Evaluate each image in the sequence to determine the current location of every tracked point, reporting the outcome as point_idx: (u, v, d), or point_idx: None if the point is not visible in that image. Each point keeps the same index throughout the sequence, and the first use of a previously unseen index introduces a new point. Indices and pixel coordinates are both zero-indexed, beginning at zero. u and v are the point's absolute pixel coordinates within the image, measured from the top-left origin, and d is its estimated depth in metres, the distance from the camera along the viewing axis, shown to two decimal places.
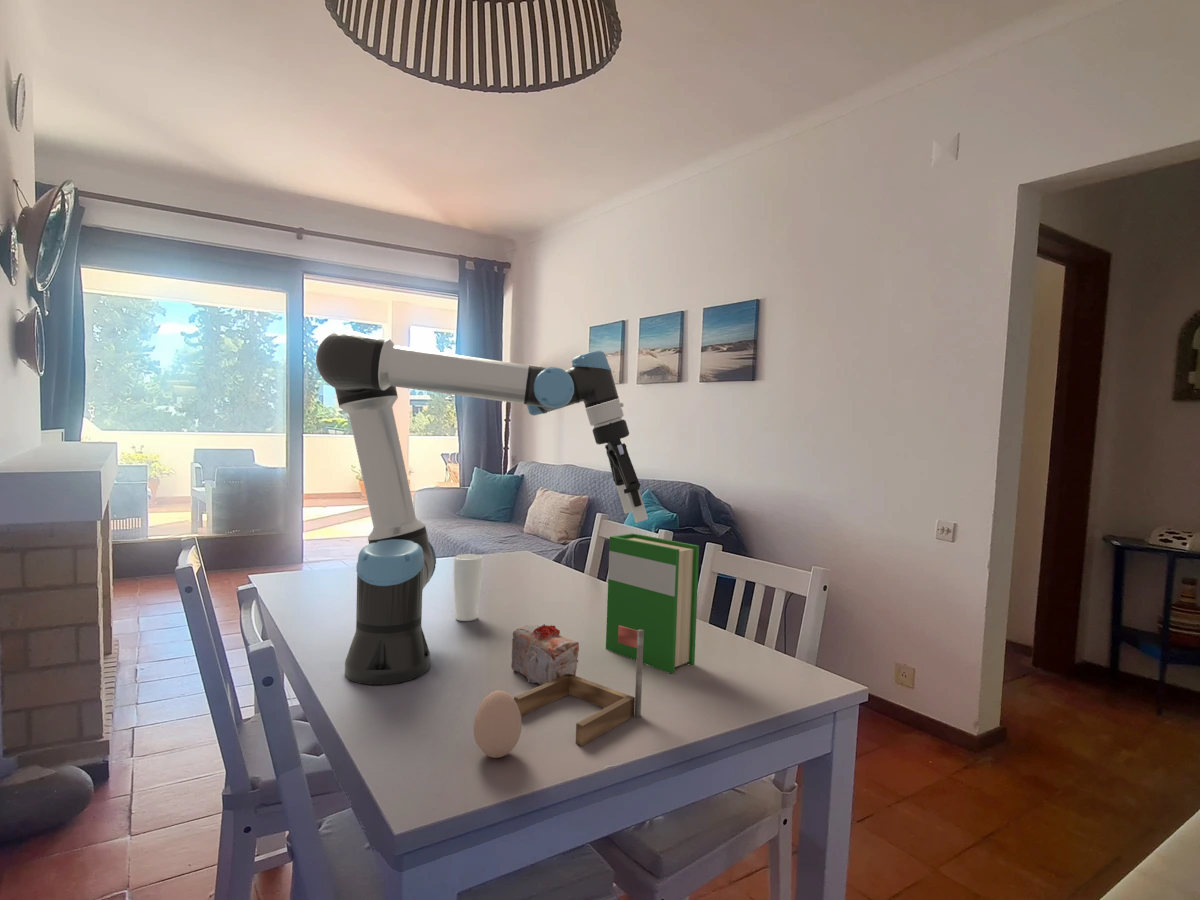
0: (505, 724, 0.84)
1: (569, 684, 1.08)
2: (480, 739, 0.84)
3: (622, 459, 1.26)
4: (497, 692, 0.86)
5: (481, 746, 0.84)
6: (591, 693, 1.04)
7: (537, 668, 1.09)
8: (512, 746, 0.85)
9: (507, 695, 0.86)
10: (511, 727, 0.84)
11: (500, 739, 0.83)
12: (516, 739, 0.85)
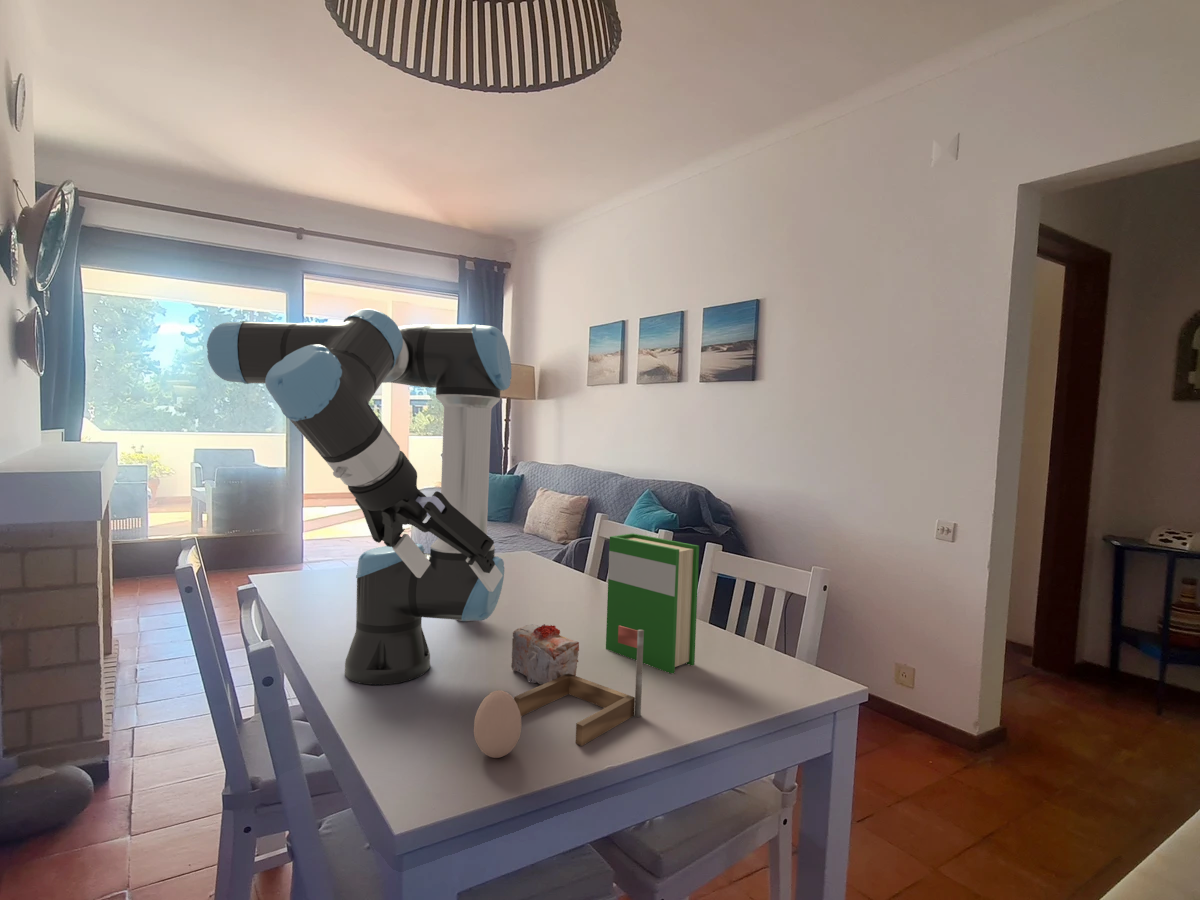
0: (505, 725, 0.84)
1: (569, 684, 1.08)
2: (480, 739, 0.84)
3: None
4: (497, 692, 0.86)
5: (481, 746, 0.84)
6: (591, 693, 1.04)
7: (537, 668, 1.09)
8: (512, 746, 0.85)
9: (507, 695, 0.86)
10: (511, 727, 0.84)
11: (500, 739, 0.83)
12: (516, 739, 0.85)
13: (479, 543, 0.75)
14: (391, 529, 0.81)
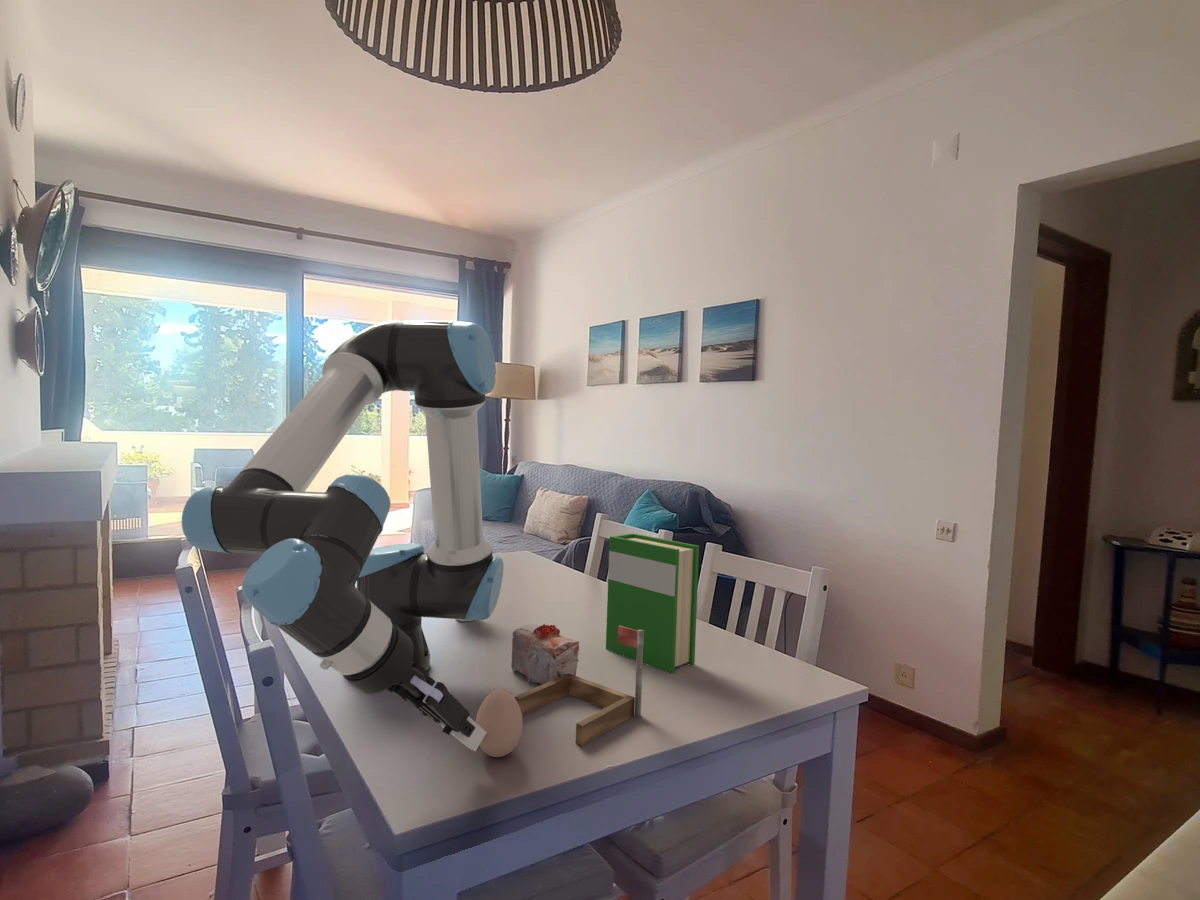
0: (506, 724, 0.84)
1: (569, 684, 1.08)
2: None
3: None
4: (498, 691, 0.86)
5: (482, 745, 0.84)
6: (591, 693, 1.04)
7: (538, 667, 1.10)
8: (513, 745, 0.85)
9: (508, 694, 0.87)
10: (512, 727, 0.84)
11: (502, 738, 0.84)
12: (517, 738, 0.85)
13: (459, 721, 0.75)
14: None
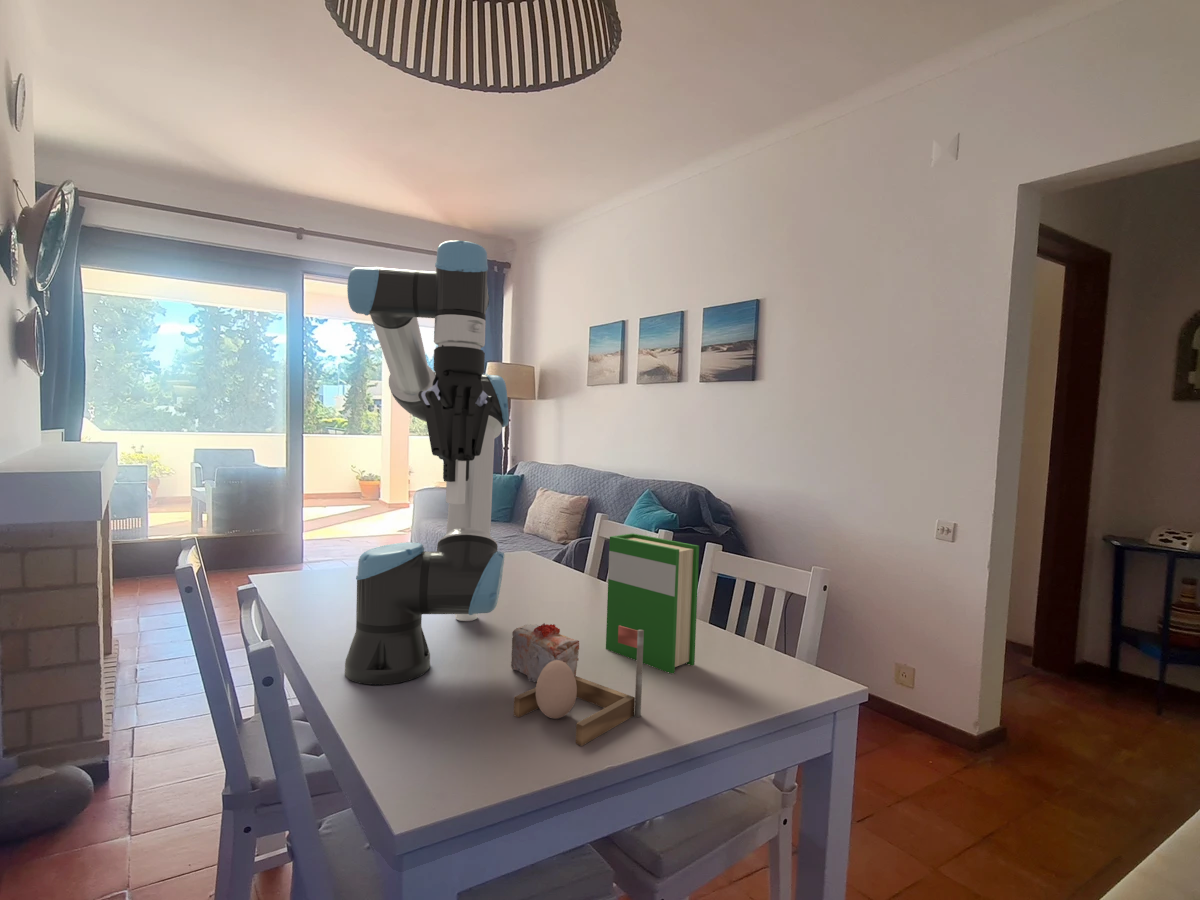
0: (573, 686, 0.97)
1: None
2: (554, 704, 0.96)
3: (428, 413, 0.90)
4: (557, 661, 0.98)
5: (554, 710, 0.96)
6: (591, 693, 1.04)
7: (538, 667, 1.10)
8: None
9: (564, 662, 0.99)
10: (575, 687, 0.98)
11: (571, 698, 0.97)
12: None
13: None
14: (458, 422, 0.92)
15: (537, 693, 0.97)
